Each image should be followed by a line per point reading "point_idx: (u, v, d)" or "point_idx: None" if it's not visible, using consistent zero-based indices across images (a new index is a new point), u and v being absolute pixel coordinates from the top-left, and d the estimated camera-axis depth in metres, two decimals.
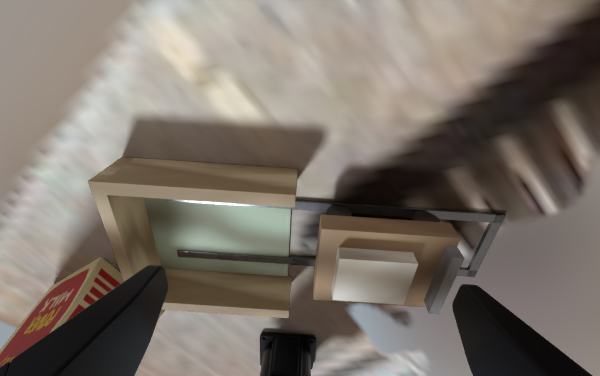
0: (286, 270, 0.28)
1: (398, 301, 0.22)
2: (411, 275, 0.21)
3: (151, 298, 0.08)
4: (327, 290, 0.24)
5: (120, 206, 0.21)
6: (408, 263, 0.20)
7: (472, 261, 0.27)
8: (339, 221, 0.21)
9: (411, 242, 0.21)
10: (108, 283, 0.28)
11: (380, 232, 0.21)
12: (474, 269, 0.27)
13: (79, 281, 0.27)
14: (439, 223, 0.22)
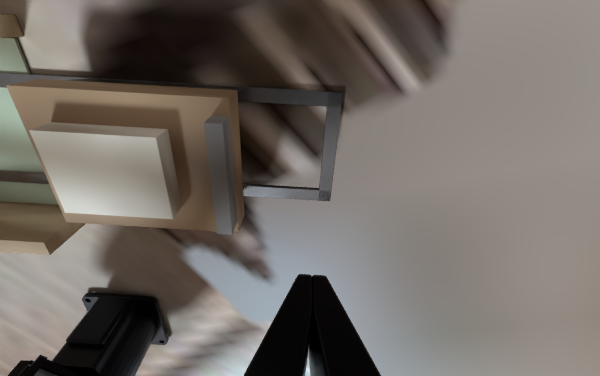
0: None
1: (162, 213, 0.15)
2: (156, 161, 0.13)
3: None
4: None
5: None
6: (141, 137, 0.13)
7: (320, 176, 0.19)
8: (55, 83, 0.14)
9: (155, 108, 0.13)
10: None
11: (100, 91, 0.13)
12: (326, 189, 0.19)
13: None
14: (219, 90, 0.14)
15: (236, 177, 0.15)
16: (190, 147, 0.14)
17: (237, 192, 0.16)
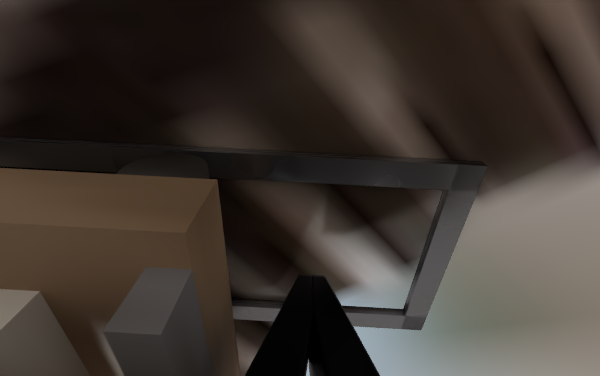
0: None
1: None
2: None
3: None
4: None
5: None
6: None
7: (411, 295, 0.11)
8: None
9: None
10: None
11: None
12: (418, 314, 0.11)
13: None
14: (174, 180, 0.06)
15: (219, 355, 0.07)
16: (103, 324, 0.06)
17: (223, 375, 0.08)
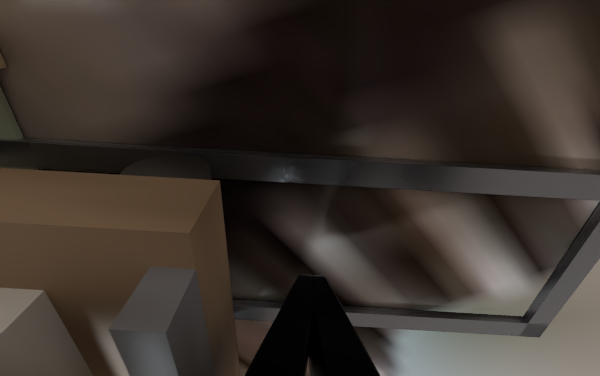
0: None
1: None
2: None
3: None
4: None
5: None
6: None
7: (538, 303, 0.11)
8: None
9: (1, 251, 0.05)
10: None
11: None
12: (541, 321, 0.11)
13: None
14: (177, 181, 0.06)
15: (220, 354, 0.07)
16: (107, 322, 0.06)
17: (224, 374, 0.08)
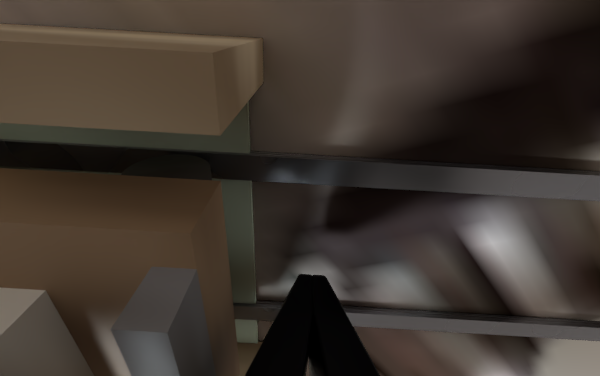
0: (253, 331, 0.12)
1: None
2: None
3: None
4: None
5: None
6: None
7: None
8: None
9: (3, 251, 0.05)
10: None
11: None
12: None
13: None
14: (178, 181, 0.06)
15: (221, 354, 0.07)
16: (108, 322, 0.06)
17: (224, 374, 0.08)
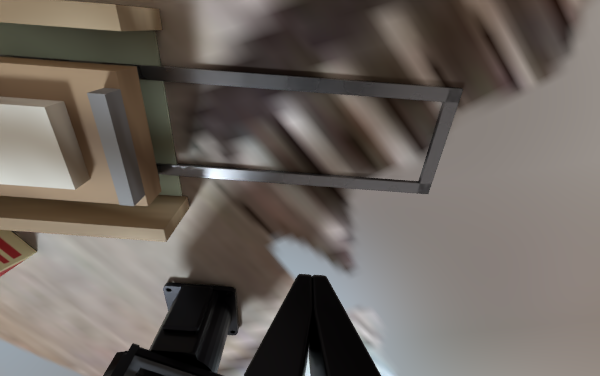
0: (177, 186, 0.21)
1: (64, 183, 0.15)
2: (49, 131, 0.14)
3: None
4: None
5: None
6: (30, 106, 0.13)
7: (423, 169, 0.20)
8: None
9: (49, 80, 0.14)
10: None
11: None
12: (427, 182, 0.20)
13: None
14: (118, 65, 0.15)
15: (140, 151, 0.16)
16: (88, 119, 0.15)
17: (143, 166, 0.16)
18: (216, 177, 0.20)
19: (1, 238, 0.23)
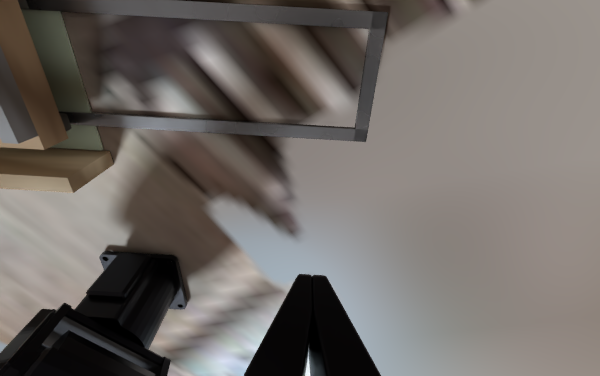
0: (96, 139, 0.19)
1: None
2: None
3: None
4: None
5: None
6: None
7: (357, 112, 0.18)
8: None
9: None
10: None
11: None
12: (362, 127, 0.18)
13: None
14: None
15: (25, 83, 0.14)
16: None
17: (33, 102, 0.15)
18: (135, 126, 0.19)
19: None
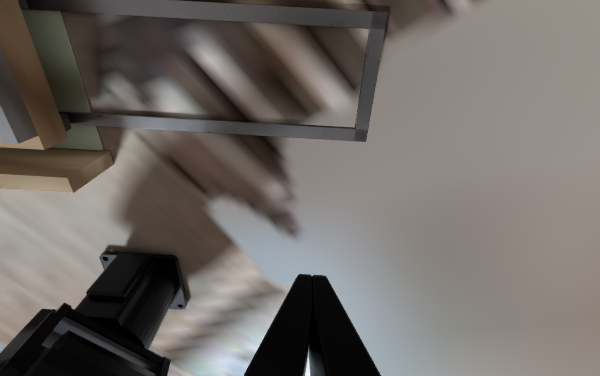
0: (96, 139, 0.19)
1: None
2: None
3: None
4: None
5: None
6: None
7: (357, 112, 0.18)
8: None
9: None
10: None
11: None
12: (362, 127, 0.18)
13: None
14: None
15: (25, 83, 0.14)
16: None
17: (33, 102, 0.15)
18: (135, 126, 0.19)
19: None
